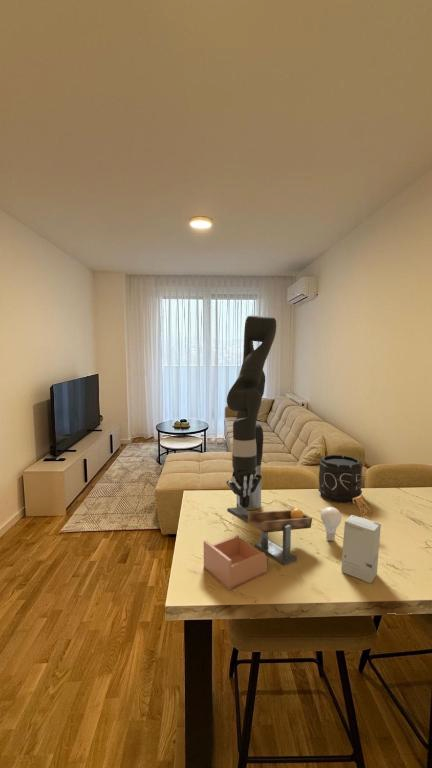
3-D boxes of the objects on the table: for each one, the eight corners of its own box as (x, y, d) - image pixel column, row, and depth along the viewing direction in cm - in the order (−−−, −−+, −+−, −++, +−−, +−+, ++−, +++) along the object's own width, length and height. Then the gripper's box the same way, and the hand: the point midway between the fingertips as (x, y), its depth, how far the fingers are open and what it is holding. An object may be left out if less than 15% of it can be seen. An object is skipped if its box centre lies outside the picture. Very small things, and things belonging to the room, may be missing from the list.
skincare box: (341, 572, 100) (342, 520, 99) (348, 562, 105) (350, 513, 103) (372, 584, 95) (374, 530, 93) (379, 574, 99) (381, 522, 98)
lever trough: (271, 508, 127) (272, 499, 127) (310, 528, 113) (312, 518, 113) (227, 511, 116) (228, 501, 116) (264, 533, 101) (266, 522, 102)
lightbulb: (340, 537, 119) (341, 505, 118) (340, 546, 113) (341, 513, 112) (320, 534, 121) (321, 502, 120) (319, 543, 115) (320, 510, 114)
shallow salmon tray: (203, 568, 102) (203, 540, 102) (239, 553, 110) (239, 528, 109) (229, 590, 93) (229, 560, 92) (266, 572, 100) (266, 545, 99)
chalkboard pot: (341, 508, 142) (342, 469, 140) (309, 492, 158) (310, 457, 156) (372, 499, 150) (374, 462, 149) (339, 485, 166) (340, 452, 165)
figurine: (378, 531, 123) (379, 497, 122) (364, 535, 121) (365, 500, 120) (360, 521, 130) (361, 489, 129) (346, 524, 128) (347, 491, 127)
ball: (287, 519, 115) (288, 507, 115) (295, 518, 117) (297, 506, 117) (296, 524, 112) (298, 511, 112) (305, 522, 114) (306, 510, 114)
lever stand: (266, 541, 117) (266, 510, 116) (296, 560, 106) (297, 525, 105) (254, 546, 114) (254, 514, 113) (284, 565, 103) (285, 530, 102)
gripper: (252, 447, 119) (252, 498, 120) (220, 453, 111) (220, 508, 113) (268, 451, 113) (268, 505, 114) (235, 458, 105) (235, 516, 106)
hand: (244, 506), depth 113 cm, fingers closed
